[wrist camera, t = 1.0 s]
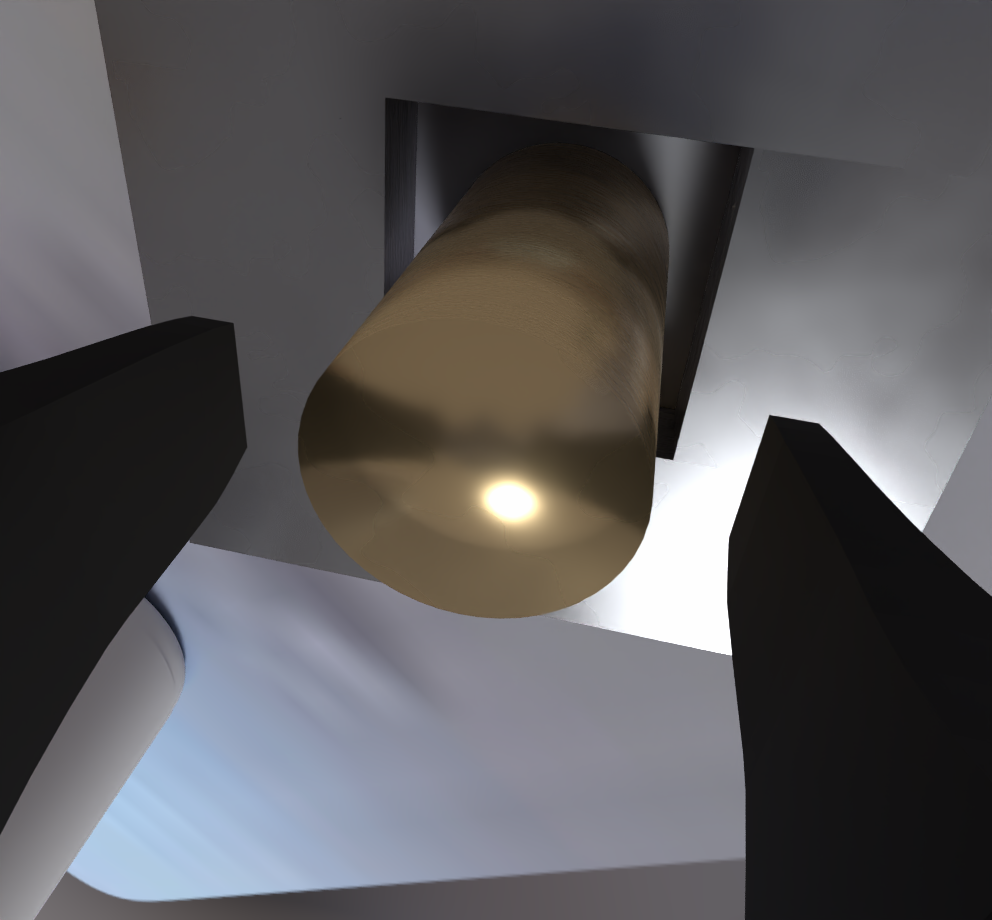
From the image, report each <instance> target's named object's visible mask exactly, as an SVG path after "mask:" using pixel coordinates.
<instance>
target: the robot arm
mask: <svg viewBox="0 0 992 920" xmlns="http://www.w3.org/2000/svg"><path fill="white" fill-rule="evenodd" d="M246 449H247V439H246V430H245V421H244V412H243V402H242V393H241V384H240V375H239V366H238V357H237V348H236V339H235V330H234V323H231V322H225V321H219V320H214V319H208V318H202V317H196V316H188V317H183V318H177V319H173V320H169V321H165V322H161V323H158V324H154V325H151V326H147V327H144V328H141V329H137V330H134V331H131V332H128V333H125V334H122V335H119V336H115V337H112V338H109V339H106V340H103V341H100V342H97V343H94V344H91V345H88V346H85V347H82V348H79V349H76V350H73V351H69V352H66V353H63V354H60V355H57V356H54V357H51V358H48V359H45V360H41V361H38V362H35V363H31V364H28V365H24V366H21V367H18V368H14V369H11V370H7V371H4V372H1V373H0V835H1V833H2V831H3V829H4V827H5V825H6V823H7V821H8V819H9V817H10V816H11V814H12V812H13V810H14V808H15V806H16V804H17V802H18V800H19V798H20V796H21V795H22V793H23V791H24V789H25V787H26V785H27V783H28V781H29V779H30V777H31V775H32V774H33V772H34V770H35V768H36V767H37V765H38V763H39V761H40V760H41V758H42V756H43V754H44V753H45V751H46V749H47V747H48V746H49V744H50V742H51V740H52V739H53V737H54V735H55V733H56V732H57V730H58V728H59V726H60V725H61V723H62V721H63V719H64V717H65V716H66V714H67V712H68V710H69V709H70V707H71V705H72V704H73V702H74V701H75V699H76V697H77V696H78V694H79V692H80V691H81V689H82V687H83V686H84V684H85V683H86V681H87V679H88V678H89V676H90V674H91V673H92V671H93V670H94V668H95V666H96V665H97V663H98V661H99V660H100V658H101V656H102V655H103V653H104V652H105V650H106V648H107V647H108V645H109V644H110V643H111V641H112V640H113V638H114V637H115V636H116V634H117V633H118V631H119V630H120V629H121V627H122V626H123V624H124V623H125V621H126V620H127V619H128V617H129V616H130V615H131V614H132V612H133V611H134V610H135V608H136V607H137V606H138V605H139V603H140V602H141V601H142V600H143V598H144V597H145V596H146V594H147V593H148V592H149V591H150V589H151V588H152V587H153V585H154V584H155V583H156V582H157V580H158V579H159V578H160V576H161V575H162V574H163V573H164V571H165V570H166V569H167V567H168V566H169V565H170V564H171V562H172V561H173V560H174V559H175V557H176V556H177V555H178V553H179V552H180V551H181V550H182V548H183V547H184V546H185V544H186V543H187V542H188V540H189V539H190V538H191V537H192V535H193V534H194V533H195V531H196V530H197V529H198V527H199V526H200V525H201V523H202V522H203V521H204V519H205V518H206V517H207V516H208V514H209V513H210V511H211V510H212V509H213V507H214V506H215V505H216V503H217V502H218V500H219V498H220V497H221V495H222V493H223V491H224V490H225V488H226V486H227V485H228V483H229V481H230V479H231V478H232V476H233V474H234V472H235V470H236V468H237V466H238V464H239V462H240V460H241V458H242V457H243V455H244V453H245V451H246ZM727 613H728V623H729V632H730V642H731V651H732V660H733V669H734V677H735V686H736V695H737V704H738V712H739V721H740V730H741V739H742V748H743V758H744V773H745V789H746V886H745V887H746V891H745V920H992V596H990V595H989V594H988V593H987V592H986V591H985V590H983V589H982V588H981V587H980V586H979V585H978V584H977V583H975V582H974V581H973V580H972V579H971V578H970V577H969V576H968V575H967V574H965V573H964V572H963V571H962V570H961V569H960V568H959V567H958V566H957V565H956V564H955V563H954V562H953V561H951V560H950V559H949V558H948V557H947V556H946V555H945V554H944V553H943V552H942V551H941V550H940V549H939V548H938V547H936V546H935V545H934V544H933V543H932V542H931V541H930V540H929V539H928V538H927V537H926V536H925V535H924V534H923V533H922V532H921V531H920V530H919V529H918V528H917V527H916V526H915V525H914V524H913V523H912V522H911V521H910V520H909V519H908V518H907V517H906V516H905V515H904V514H903V513H902V512H901V510H900V509H899V508H898V507H897V506H896V505H895V504H894V503H893V502H892V501H891V500H890V499H889V498H888V497H887V496H886V495H885V493H884V492H883V491H882V490H881V489H880V488H879V487H878V486H877V485H876V484H875V483H874V482H873V480H872V479H871V478H870V477H869V476H868V475H867V474H866V473H865V472H864V471H863V469H862V468H861V467H860V466H859V465H858V464H857V463H856V462H855V461H854V459H853V458H852V457H851V456H850V455H849V454H848V453H847V452H846V451H845V450H844V448H843V447H842V446H841V445H840V444H839V443H838V442H837V441H836V440H835V439H834V438H833V437H832V436H831V435H830V434H829V432H828V431H827V430H825V429H824V428H823V427H822V426H821V425H820V424H819V423H814V422H808V421H803V420H797V419H791V418H785V417H779V416H773V415H769V418H768V421H767V424H766V427H765V430H764V433H763V436H762V439H761V442H760V445H759V448H758V451H757V454H756V457H755V460H754V463H753V466H752V469H751V472H750V475H749V478H748V481H747V484H746V487H745V490H744V493H743V496H742V499H741V502H740V505H739V508H738V511H737V514H736V517H735V520H734V523H733V526H732V529H731V532H730V535H729V540H728V564H727Z"/></svg>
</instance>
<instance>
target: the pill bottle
mask: <svg viewBox="0 0 992 920" xmlns="http://www.w3.org/2000/svg"><path fill="white" fill-rule="evenodd" d="M184 680H185V662H184V657H183V653H182V650H181V647H180V645H179V643H178V640H177V638H176V637H175V635H174V633H173V631H172V630H171V628H170V627H169V625H168V624H167V622H166V621H165V619H164V618H163V617H162V616H161V614H160V613H159V612H158V611H157V610H156V609H155V608H154V607H153V605H152V604H151V603H150V602H149V601H148V600H147V599H145V598H143V600H142V601H141V602H140V603H139V605H138V606H137V607H136V608H135V610H134V611H133V612H132V614H131V615H130V616H129V617H128V619H127V620H126V621H125V623H124V624H123V626H122V627H121V629H120V630H119V631H118V633H117V634H116V636H115V637H114V638H113V640H112V641H111V643H110V644H109V645H108V647H107V648H106V650H105V652H104V653H103V655H102V656H101V658H100V660H99V661H98V663H97V665H96V666H95V668H94V670H93V671H92V673H91V674H90V676H89V678H88V679H87V681H86V683H85V684H84V686H83V687H82V689H81V691H80V692H79V694H78V696H77V697H76V699H75V701H74V702H73V704H72V705H71V707H70V709H69V710H68V712H67V714H66V716H65V717H64V719H63V721H62V723H61V725H60V726H59V728H58V730H57V732H56V733H55V735H54V737H53V739H52V740H51V742H50V744H49V746H48V747H47V749H46V751H45V753H44V754H43V756H42V758H41V760H40V761H39V763H38V765H37V767H36V768H35V770H34V772H33V774H32V775H31V777H30V779H29V781H28V783H27V785H26V787H25V789H24V791H23V793H22V795H21V796H20V798H19V800H18V802H17V804H16V806H15V808H14V810H13V812H12V814H11V816H10V817H9V819H8V821H7V823H6V825H5V827H4V829H3V831H2V833H1V835H0V920H34V919H35V917H36V916H37V914H38V913H39V911H40V910H41V908H42V907H43V905H44V904H45V902H46V901H47V899H48V897H49V896H50V895H51V893H52V892H53V890H54V889H55V887H56V886H57V884H58V883H59V881H60V880H61V878H62V877H63V875H64V874H65V872H66V871H67V869H68V868H69V866H70V865H71V863H72V862H73V860H74V859H75V857H76V856H77V854H78V853H79V851H80V850H81V848H82V847H83V845H84V844H85V842H86V841H87V839H88V838H89V836H90V835H91V833H92V832H93V830H94V829H95V827H96V826H97V824H98V823H99V821H100V820H101V818H102V817H103V815H104V814H105V812H106V811H107V809H108V808H109V806H110V805H111V803H112V802H113V800H114V799H115V797H116V796H117V794H118V793H119V791H120V790H121V788H122V787H123V785H124V784H125V782H126V781H127V779H128V778H129V776H130V775H131V773H132V772H133V770H134V769H135V767H136V766H137V764H138V763H139V761H140V760H141V758H142V757H143V755H144V754H145V752H146V751H147V749H148V748H149V746H150V745H151V743H152V742H153V740H154V739H155V737H156V736H157V734H158V733H159V731H160V730H161V728H162V727H163V725H164V724H165V722H166V721H167V719H168V718H169V716H170V715H171V713H172V710H173V708H174V706H175V705H176V703H177V701H178V699H179V697H180V695H181V692H182V689H183V686H184Z"/></svg>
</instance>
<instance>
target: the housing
mask: <svg viewBox="0 0 992 920" xmlns="http://www.w3.org/2000/svg"><path fill="white" fill-rule="evenodd" d="M94 1H95V6H96V12H97V18H98V23H99V29H100V35H101V40H102V46H103V52H104V57H105V63H106V69H107V74H108V80H109V86H110V91H111V97H112V103H113V108H114V114H115V120H116V126H117V131H118V137H119V143H120V148H121V154H122V160H123V165H124V171H125V177H126V182H127V188H128V194H129V199H130V205H131V211H132V216H133V222H134V228H135V233H136V239H137V245H138V250H139V256H140V262H141V267H142V273H143V279H144V284H145V290H146V296H147V302H148V307H149V313H150V319H151V324H152V325H154V324H158V323H161V322H165V321H169V320H173V319H177V318H183V317H188V316H196V317H202V318H208V319H214V320H219V321H225V322H231V323H234V330H235V339H236V348H237V357H238V366H239V375H240V384H241V393H242V402H243V412H244V421H245V430H246V439H247V449H246V451H245V453H244V455H243V457H242V458H241V460H240V462H239V464H238V466H237V468H236V470H235V472H234V474H233V476H232V478H231V479H230V481H229V483H228V485H227V486H226V488H225V490H224V491H223V493H222V495H221V497H220V498H219V500H218V502H217V503H216V505H215V506H214V507H213V509H212V510H211V511H210V513H209V514H208V516H207V517H206V518H205V519H204V521H203V522H202V523H201V525H200V526H199V527H198V529H197V530H196V531H195V533H194V534H193V535H192V537H191V538H190V539H189V540H190V543H194V544H199V545H204V546H209V547H213V548H218V549H223V550H228V551H233V552H237V553H242V554H247V555H252V556H257V557H262V558H266V559H271V560H276V561H281V562H286V563H290V564H295V565H300V566H305V567H310V568H314V569H319V570H324V571H329V572H334V573H338V574H343V575H348V576H353V577H358V578H363V579H367V580H372V581H377V582H381V581H379V580H378V579H377V578H375V577H374V576H372V575H371V574H370V573H368V572H367V571H365V570H364V569H363V568H362V567H361V566H360V565H359V564H357V563H356V562H355V561H354V560H353V559H352V558H351V557H349V556H348V554H347V553H346V552H345V551H344V550H343V549H342V548H341V547H340V546H339V545H338V544H337V543H336V542H335V540H334V539H333V538H332V536H331V535H330V534H329V532H328V531H327V530H326V528H325V527H324V526H323V524H322V522H321V521H320V519H319V517H318V515H317V514H316V512H315V510H314V509H313V506H312V504H311V502H310V499H309V497H308V495H307V492H306V490H305V486H304V483H303V479H302V476H301V472H300V465H299V458H298V433H299V427H300V421H301V416H302V413H303V410H304V407H305V404H306V401H307V398H308V396H309V395H310V393H311V391H312V389H313V387H314V385H315V384H316V382H317V380H318V379H319V378H320V377H321V375H322V374H323V373H324V372H325V370H326V369H327V368H328V366H329V365H330V364H331V363H332V361H333V360H334V359H335V358H336V356H337V355H338V354H339V353H340V351H341V350H342V349H343V348H344V346H345V345H346V344H347V343H348V341H349V340H350V339H351V337H352V336H353V335H354V334H355V332H356V331H357V330H358V329H359V327H360V326H361V325H362V324H363V322H364V321H365V320H366V319H367V317H368V316H369V315H370V314H371V312H372V311H373V310H374V309H375V307H376V306H377V305H378V303H379V302H380V301H381V300H382V298H383V297H384V296H385V295H386V293H387V292H388V291H389V290H390V288H391V287H392V286H393V285H394V283H395V282H396V281H397V280H398V278H399V277H400V276H401V274H402V273H403V272H404V271H405V269H406V268H407V267H408V266H409V264H410V263H411V262H412V261H413V258H414V223H415V187H416V151H417V115H418V102H423V103H430V104H438V105H445V106H452V107H459V108H467V109H474V110H481V111H489V112H496V113H503V114H510V115H518V116H525V117H532V118H540V119H547V120H554V121H561V122H569V123H576V124H583V125H590V126H598V127H605V128H612V129H620V130H627V131H634V132H641V133H649V134H656V135H663V136H671V137H678V138H685V139H692V140H700V141H707V142H714V143H722V144H729V145H736V146H741V149H740V153H739V157H738V161H737V165H736V169H735V173H734V177H733V181H732V185H731V189H730V193H729V197H728V201H727V205H726V209H725V213H724V217H723V221H722V225H721V229H720V233H719V237H718V241H717V245H716V249H715V253H714V257H713V261H712V265H711V269H710V273H709V277H708V281H707V285H706V289H705V293H704V297H703V301H702V305H701V308H700V312H699V316H698V320H697V324H696V328H695V332H694V336H693V340H692V344H691V348H690V352H689V356H688V360H687V364H686V368H685V372H684V376H683V380H682V384H681V388H680V392H679V396H678V400H677V404H676V408H675V410H673V409H667V408H661V407H659V417H658V431H657V446H656V461H655V476H654V491H653V504H652V510H651V516H650V522H649V524H648V527H647V530H646V533H645V536H644V539H643V541H642V543H641V545H640V547H639V548H638V550H637V552H636V554H635V556H634V557H633V558H632V560H631V561H630V562H629V564H628V565H627V566H626V567H625V569H624V570H623V571H622V572H621V573H620V574H619V575H618V576H617V577H616V578H615V579H614V580H613V581H612V582H611V583H610V584H608V585H607V586H605V587H604V588H603V589H601V590H600V591H598V592H597V593H596V594H594V595H592V596H590V597H588V598H587V599H585V600H583V601H581V602H579V603H577V604H574V605H572V606H569V607H566V608H564V609H561V610H558V611H554V612H550V613H546V614H542V615H541V616H545V617H550V618H555V619H560V620H565V621H569V622H574V623H579V624H584V625H589V626H593V627H598V628H603V629H608V630H613V631H617V632H622V633H627V634H632V635H637V636H642V637H646V638H651V639H656V640H661V641H666V642H670V643H675V644H680V645H685V646H690V647H694V648H699V649H704V650H709V651H714V652H719V653H723V654H728V655H732V651H731V642H730V632H729V623H728V613H727V564H728V540H729V535H730V532H731V529H732V526H733V523H734V520H735V517H736V514H737V511H738V508H739V505H740V502H741V499H742V496H743V493H744V490H745V487H746V484H747V481H748V478H749V475H750V472H751V469H752V466H753V463H754V460H755V457H756V454H757V451H758V448H759V445H760V442H761V439H762V436H763V433H764V430H765V427H766V424H767V421H768V418H769V415H773V416H779V417H785V418H791V419H797V420H803V421H808V422H814V423H819V424H820V425H821V426H822V427H823V428H824V429H825V430H827V431H828V432H829V434H830V435H831V436H832V437H833V438H834V439H835V440H836V441H837V442H838V443H839V444H840V445H841V446H842V447H843V448H844V450H845V451H846V452H847V453H848V454H849V455H850V456H851V457H852V458H853V459H854V461H855V462H856V463H857V464H858V465H859V466H860V467H861V468H862V469H863V471H864V472H865V473H866V474H867V475H868V476H869V477H870V478H871V479H872V480H873V482H874V483H875V484H876V485H877V486H878V487H879V488H880V489H881V490H882V491H883V492H884V493H885V495H886V496H887V497H888V498H889V499H890V500H891V501H892V502H893V503H894V504H895V505H896V506H897V507H898V508H899V509H900V510H901V512H902V513H903V514H904V515H905V516H906V517H907V518H908V519H909V520H910V521H911V522H912V523H913V524H914V525H915V526H916V527H917V528H918V529H919V530H920V531H921V532H922V531H923V529H924V527H925V525H926V523H927V521H928V519H929V517H930V515H931V513H932V511H933V510H934V508H935V506H936V504H937V502H938V500H939V498H940V496H941V494H942V492H943V490H944V488H945V486H946V484H947V482H948V480H949V478H950V476H951V474H952V472H953V470H954V468H955V466H956V465H957V463H958V461H959V459H960V457H961V455H962V453H963V451H964V449H965V447H966V445H967V443H968V441H969V439H970V437H971V435H972V433H973V431H974V429H975V427H976V425H977V423H978V422H979V420H980V418H981V416H982V414H983V412H984V410H985V408H986V406H987V404H988V402H989V400H990V398H991V396H992V0H94Z"/></svg>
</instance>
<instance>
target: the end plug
mask: <svg viewBox="0 0 992 920" xmlns="http://www.w3.org/2000/svg"><path fill="white" fill-rule="evenodd" d="M668 267H669V241H668V233H667V229H666V225H665V221H664V218H663V215H662V213H661V210H660V208H659V206H658V204H657V202H656V200H655V199H654V197H653V195H652V194H651V192H650V190H649V189H648V188H647V187H646V185H645V184H644V183H643V182H642V180H641V179H640V178H639V177H638V176H637V175H636V174H635V173H633V172H632V171H631V170H630V169H629V168H628V167H626V166H625V165H624V164H622V163H621V162H619V161H618V160H617V159H615V158H613V157H611V156H609V155H607V154H605V153H603V152H601V151H598V150H595V149H592V148H589V147H585V146H581V145H576V144H567V143H548V144H540V145H535V146H530V147H526V148H524V149H521V150H518V151H515V152H513V153H511V154H509V155H507V156H505V157H503V158H502V159H500V160H499V161H497V162H496V163H494V164H493V165H492V166H490V167H489V168H488V169H487V170H486V171H485V172H484V173H483V174H482V175H481V176H480V177H479V178H478V179H477V180H476V181H475V183H474V184H473V185H472V186H471V188H470V189H469V190H468V191H467V193H466V194H465V195H464V196H463V198H462V199H461V200H460V201H459V203H458V204H457V205H456V206H455V208H454V209H453V210H452V212H451V213H450V214H449V215H448V217H447V218H446V219H445V220H444V222H443V223H442V224H441V225H440V227H439V228H438V229H437V230H436V232H435V233H434V234H433V235H432V237H431V238H430V239H429V240H428V242H427V243H426V244H425V246H424V247H423V248H422V249H421V251H420V252H419V253H418V254H417V256H416V257H415V258H414V259H413V261H412V262H411V263H410V264H409V266H408V267H407V268H406V269H405V271H404V272H403V273H402V274H401V276H400V277H399V278H398V280H397V281H396V282H395V283H394V285H393V286H392V287H391V288H390V290H389V291H388V292H387V293H386V295H385V296H384V297H383V298H382V300H381V301H380V302H379V303H378V305H377V306H376V307H375V309H374V310H373V311H372V312H371V314H370V315H369V316H368V317H367V319H366V320H365V321H364V322H363V324H362V325H361V326H360V327H359V329H358V330H357V331H356V332H355V334H354V335H353V336H352V337H351V339H350V340H349V341H348V343H347V344H346V345H345V346H344V348H343V349H342V350H341V351H340V353H339V354H338V355H337V356H336V358H335V359H334V360H333V361H332V363H331V364H330V365H329V366H328V368H327V369H326V370H325V372H324V373H323V374H322V375H321V377H320V378H319V379H318V380H317V382H316V384H315V385H314V387H313V389H312V391H311V393H310V395H309V396H308V398H307V401H306V404H305V407H304V410H303V413H302V416H301V421H300V427H299V433H298V458H299V465H300V472H301V476H302V479H303V483H304V486H305V490H306V492H307V495H308V497H309V499H310V502H311V504H312V506H313V509H314V510H315V512H316V514H317V515H318V517H319V519H320V521H321V522H322V524H323V526H324V527H325V528H326V530H327V531H328V532H329V534H330V535H331V536H332V538H333V539H334V540H335V542H336V543H337V544H338V545H339V546H340V547H341V548H342V549H343V550H344V551H345V552H346V553H347V554H348V556H349V557H351V558H352V559H353V560H354V561H355V562H356V563H357V564H359V565H360V566H361V567H362V568H363V569H364V570H365V571H367V572H368V573H370V574H371V575H372V576H374V577H375V578H377V579H378V580H379V581H381V582H382V583H384V584H386V585H388V586H389V587H391V588H393V589H394V590H396V591H398V592H400V593H402V594H404V595H406V596H408V597H410V598H412V599H415V600H417V601H419V602H422V603H424V604H427V605H430V606H433V607H436V608H438V609H442V610H446V611H450V612H454V613H458V614H463V615H469V616H475V617H485V618H522V617H529V616H537V615H542V614H546V613H550V612H554V611H558V610H561V609H564V608H566V607H569V606H572V605H574V604H577V603H579V602H581V601H583V600H585V599H587V598H588V597H590V596H592V595H594V594H596V593H597V592H598V591H600V590H601V589H603V588H604V587H605V586H607V585H608V584H610V583H611V582H612V581H613V580H614V579H615V578H616V577H617V576H618V575H619V574H620V573H621V572H622V571H623V570H624V569H625V567H626V566H627V565H628V564H629V562H630V561H631V560H632V558H633V557H634V556H635V554H636V552H637V550H638V548H639V547H640V545H641V543H642V541H643V539H644V536H645V533H646V530H647V527H648V524H649V522H650V516H651V510H652V504H653V491H654V476H655V461H656V446H657V431H658V417H659V402H660V387H661V372H662V357H663V342H664V327H665V312H666V297H667V282H668Z"/></svg>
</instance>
